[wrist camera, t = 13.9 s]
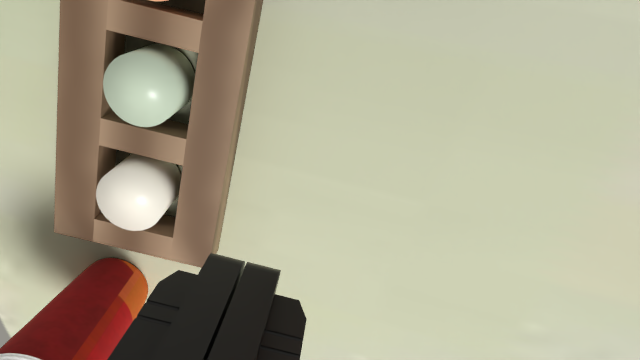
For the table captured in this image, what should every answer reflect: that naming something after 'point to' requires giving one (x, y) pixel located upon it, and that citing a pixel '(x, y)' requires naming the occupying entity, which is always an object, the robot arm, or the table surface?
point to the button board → (157, 141)
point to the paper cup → (83, 316)
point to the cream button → (138, 192)
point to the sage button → (149, 84)
